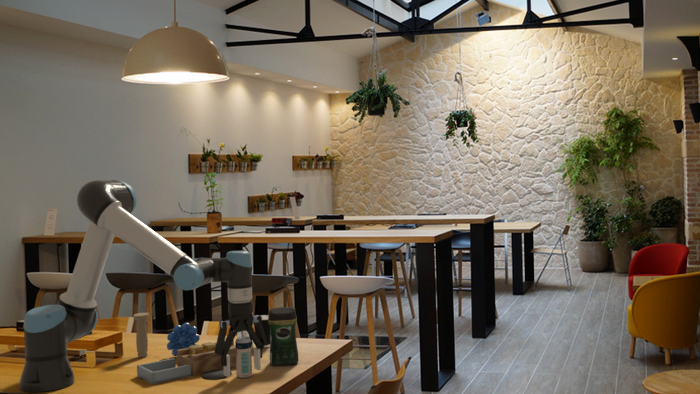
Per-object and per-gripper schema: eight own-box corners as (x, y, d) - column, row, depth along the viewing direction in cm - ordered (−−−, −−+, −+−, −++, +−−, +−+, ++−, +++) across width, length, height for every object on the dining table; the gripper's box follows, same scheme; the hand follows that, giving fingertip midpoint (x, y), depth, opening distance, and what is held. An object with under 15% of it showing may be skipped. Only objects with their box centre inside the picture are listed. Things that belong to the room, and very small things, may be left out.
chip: (195, 357, 213) (194, 348, 213) (189, 355, 217) (189, 346, 217) (203, 355, 215) (203, 346, 215) (197, 353, 218) (197, 344, 218)
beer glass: (233, 346, 246) (231, 306, 246) (252, 343, 249) (249, 303, 249) (238, 350, 240) (235, 308, 240) (257, 347, 242) (254, 306, 242)
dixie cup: (278, 346, 244) (278, 317, 244) (259, 349, 239) (259, 319, 239) (267, 343, 250) (267, 314, 250) (249, 346, 245) (248, 316, 245)
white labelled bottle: (244, 373, 210) (243, 335, 209) (255, 375, 207) (254, 337, 206) (233, 377, 206) (232, 338, 206) (243, 379, 203) (242, 340, 203)
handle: (152, 354, 238) (150, 312, 237) (146, 359, 231) (145, 316, 231) (138, 354, 238) (137, 312, 237) (132, 359, 231) (131, 316, 231)
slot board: (193, 375, 209) (193, 356, 209) (177, 368, 218) (176, 349, 218) (249, 363, 222) (248, 345, 221) (231, 356, 231) (230, 339, 231)
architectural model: (75, 359, 234) (74, 338, 234) (82, 354, 241) (81, 334, 241) (85, 359, 234) (84, 338, 234) (91, 354, 241) (91, 334, 241)
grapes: (203, 353, 237) (202, 319, 237) (198, 358, 230) (197, 323, 230) (170, 354, 237) (169, 320, 237) (165, 359, 231) (163, 324, 230)
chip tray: (152, 384, 200) (152, 372, 200) (137, 376, 210) (136, 365, 210) (190, 376, 208) (190, 364, 208) (174, 368, 217) (174, 358, 217)
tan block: (207, 354, 216) (207, 345, 216) (202, 352, 219) (201, 343, 219) (216, 353, 218) (215, 344, 218) (210, 351, 221) (210, 342, 221)
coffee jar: (297, 359, 225) (296, 304, 225) (299, 365, 217) (297, 308, 217) (269, 361, 224) (267, 306, 224) (269, 367, 216) (267, 310, 216)
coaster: (211, 381, 202) (210, 379, 202) (197, 375, 209) (197, 373, 209) (237, 375, 208) (237, 373, 208) (223, 369, 215) (223, 367, 215)
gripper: (212, 307, 196) (215, 382, 196) (277, 297, 210) (279, 367, 210) (201, 304, 202) (203, 377, 202) (265, 295, 216) (267, 363, 216)
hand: (242, 372), depth 206 cm, fingers open, 10 cm apart
